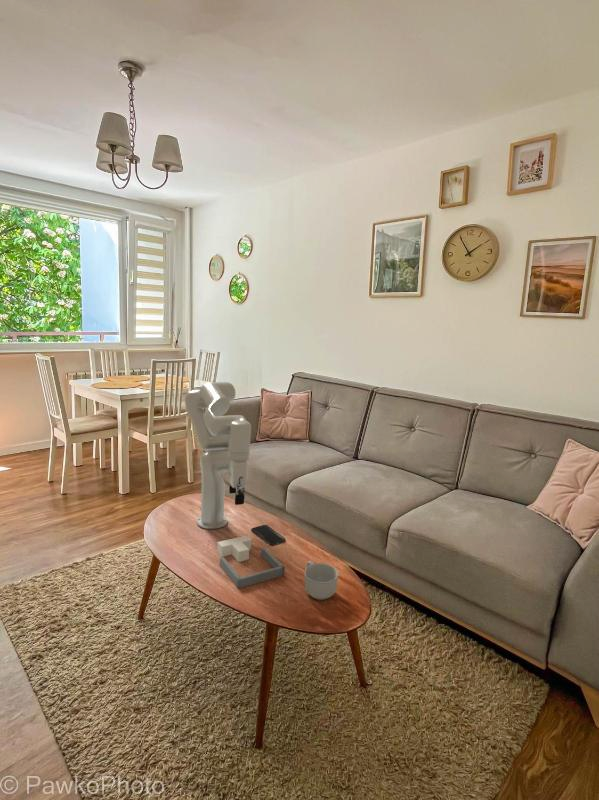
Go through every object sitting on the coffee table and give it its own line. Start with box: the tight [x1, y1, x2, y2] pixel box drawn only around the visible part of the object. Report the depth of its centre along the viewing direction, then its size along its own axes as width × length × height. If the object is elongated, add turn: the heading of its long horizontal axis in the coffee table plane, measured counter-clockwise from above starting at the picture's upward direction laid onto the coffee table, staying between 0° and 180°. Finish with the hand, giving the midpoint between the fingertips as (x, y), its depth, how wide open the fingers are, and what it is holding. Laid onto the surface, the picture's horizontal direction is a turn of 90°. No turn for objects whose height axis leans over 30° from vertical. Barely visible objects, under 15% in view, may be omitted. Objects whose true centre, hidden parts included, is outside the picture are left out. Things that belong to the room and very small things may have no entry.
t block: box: [216, 535, 252, 563], centre depth 163 cm, size 10×12×4 cm
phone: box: [250, 524, 286, 546], centre depth 179 cm, size 8×1×15 cm
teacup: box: [304, 560, 339, 601], centre depth 144 cm, size 14×11×8 cm
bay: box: [219, 546, 286, 589], centre depth 154 cm, size 15×17×3 cm
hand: (236, 498), depth 163 cm, fingers open, 9 cm apart
